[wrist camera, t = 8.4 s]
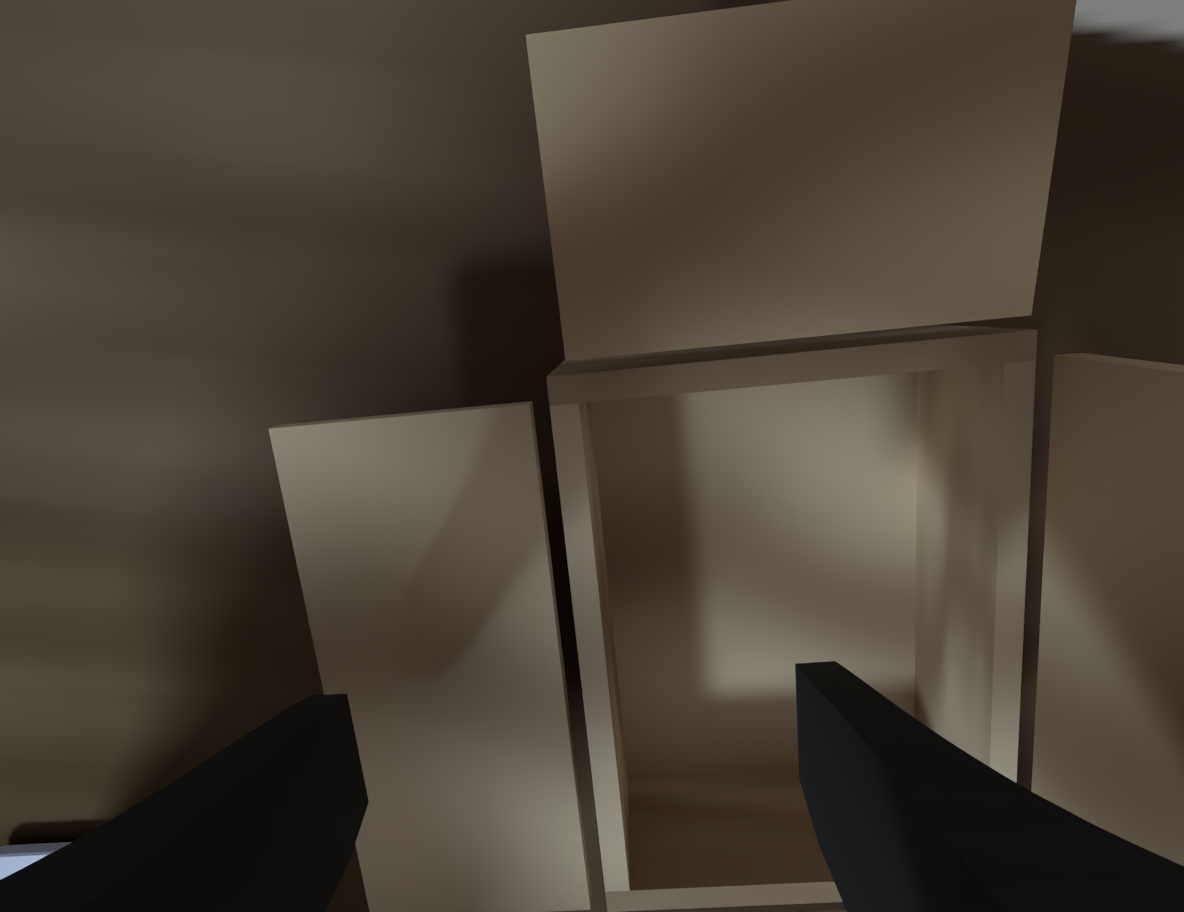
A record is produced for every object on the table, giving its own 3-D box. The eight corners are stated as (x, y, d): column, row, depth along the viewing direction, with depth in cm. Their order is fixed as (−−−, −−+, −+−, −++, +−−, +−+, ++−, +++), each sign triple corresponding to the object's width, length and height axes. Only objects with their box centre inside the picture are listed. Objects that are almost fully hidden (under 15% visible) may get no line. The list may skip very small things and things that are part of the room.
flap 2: (1026, 890, 12) (1048, 890, 12) (1211, 1202, 8) (1246, 1204, 8) (1054, 354, 10) (1082, 353, 10) (1325, 391, 6) (1377, 388, 6)
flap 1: (1081, -38, 8) (1061, -28, 9) (525, 34, 9) (529, 41, 9) (1031, 315, 10) (1015, 311, 10) (565, 361, 10) (567, 354, 11)
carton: (927, 928, 17) (1010, 1097, 14) (454, 948, 18) (411, 1112, 14) (935, 324, 14) (1049, 330, 10) (353, 381, 15) (263, 405, 11)
